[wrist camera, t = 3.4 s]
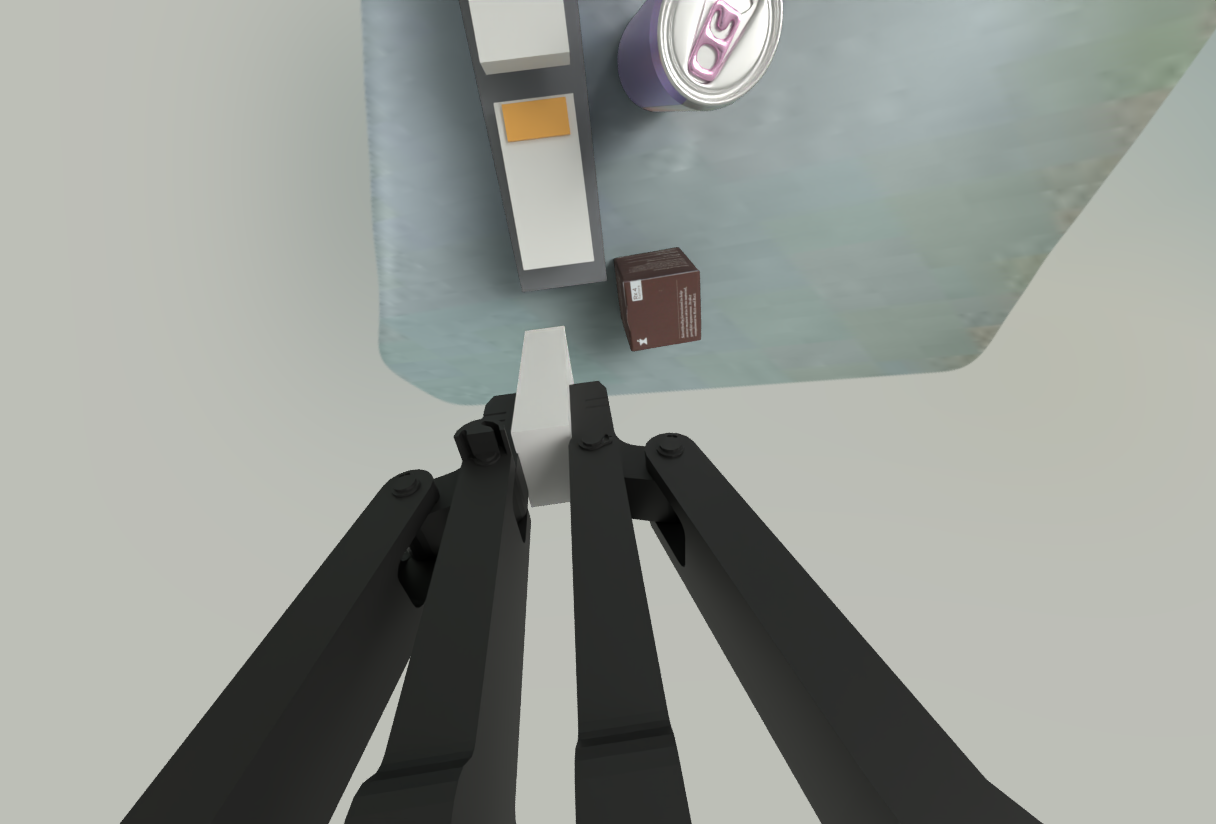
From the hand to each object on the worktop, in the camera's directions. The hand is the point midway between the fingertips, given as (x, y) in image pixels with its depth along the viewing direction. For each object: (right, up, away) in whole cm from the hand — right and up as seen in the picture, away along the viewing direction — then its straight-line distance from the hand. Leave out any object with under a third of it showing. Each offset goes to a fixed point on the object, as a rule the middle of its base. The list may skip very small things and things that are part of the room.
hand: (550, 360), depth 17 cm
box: (+6, +10, +24) cm, 26 cm away
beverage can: (+6, +23, +15) cm, 28 cm away
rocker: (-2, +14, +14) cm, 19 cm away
